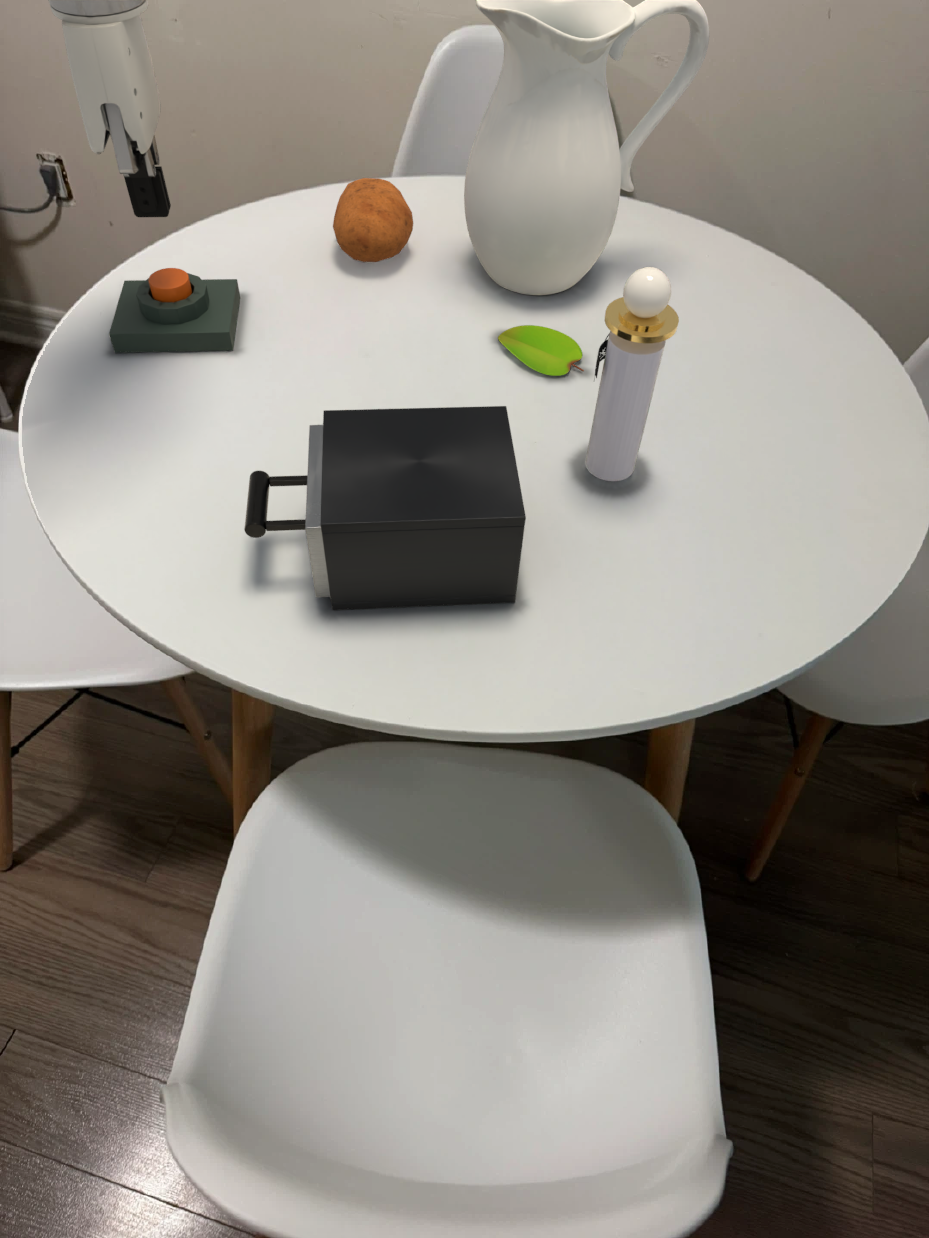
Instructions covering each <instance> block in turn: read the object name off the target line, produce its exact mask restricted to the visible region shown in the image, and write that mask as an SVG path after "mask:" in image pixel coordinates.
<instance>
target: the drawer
mask: <svg viewBox="0 0 929 1238" xmlns="http://www.w3.org/2000/svg"><path fill="white" fill-rule="evenodd" d="M322 450H323V424H310V425H309V429H308V451H307V474H306V475H278V476H277V475H276V476H275V475H274V476H270V475H269V474H268V472H266V471H264V470H254V471H252V472H251V473H250V475H249V481H248V491H247V500H246V501H247V502H246V509H245V520H244V528H243V529H244V533H245V534H246V535H247V536H248V537H250V538H254V539H260V538H262V537H264V536H265V534H266V533H267V532H283V531H285V532H286V531H305V535H306V543H307V548H308V556H309V563H310V569H311V573H312V575H311V576H312V580H313V587H314V594H315V598H330V591H329V584H328V576H327V569H326V561H325V554H324V546H323V539H322V532H321V487H322ZM298 486H299V487H302V486H303V487H304V486H306V499H305V519H281V520H280V519H279V520H278V519H277V520H268V510H269V499H270V498H269V497H270V487H298Z"/></svg>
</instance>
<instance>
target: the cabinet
mask: <svg viewBox="0 0 929 1238" xmlns="http://www.w3.org/2000/svg"><path fill="white" fill-rule="evenodd" d="M322 417H323V419H322V425H323V450H322V487H321V532H322V539H323V546H324V554H325V561H326V569H327V576H328V584H329V591H330V597H329V598H330V605H331V611H346V610H370V609H371V610H373V609H394V608H395V609H396V608H397V609H398V608H419V607H420V608H421V607H439V606H440V607H441V606H464V605H466V606H467V605H490V604H512V603H513V604H514V603H516V598H517V590H518V581H519V573H520V566H521V559H522V549H523V541H524V535H525V533H524V532H525V525H526V519H527V516H526V510H525V504H524V499H523V493H522V488H521V483H520V478H519V477H520V476H519V471H518V466H517V465H518V464H517V459H516V454H515V448H514V442H513V436H512V431H511V425H510V419H509V415H508V409H507V406H506V405H494V406H493V405H491V406H451V407H449V406H448V407H446V406H445V407H417V408H416V407H411V408H409V407H407V408H370V409H365V408H364V409H329V410H323V414H322Z"/></svg>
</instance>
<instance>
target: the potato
mask: <svg viewBox="0 0 929 1238" xmlns="http://www.w3.org/2000/svg"><path fill="white" fill-rule="evenodd" d="M332 229H333V232H334V236H335V240H336V243H337V245H338V246H339V248H340V250H341V251H342V252H344V254H346V255H347V256H348V257H349V258H351V259H352V260H354V261H357V262H358V261H359V262H361V263H378V262H381V261H384V260H385V261H386V260H389V259H391V258H394V257H395V256H396V255H399V254H400V253H401V252H402V250H403V249H404V248H405V247H406V246H407V244H408V242H409V240H410V237H411V235H412V233H413V229H414V218H413V212H412V210H411V208H410V206H409V204H408V203H407V201H406V199H405V197H404V196H403V194H402V192H401V190H400V189H398V188H397V187H396V186H395V184H393V183H392V182H390V181H389V180H386V179H383V178H376V177H375V178H373V177H371V178H370V177H362V178H359V179H356V180H353V181H351V182H349V183H347V185H346V186H345V188H344V189H343V191H342V192H341V194H340V195H339V198H338V202H337V204H336V209H335V212H334V216H333V222H332Z"/></svg>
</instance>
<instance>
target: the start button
mask: <svg viewBox="0 0 929 1238" xmlns="http://www.w3.org/2000/svg"><path fill="white" fill-rule="evenodd" d="M187 273H188V272H187V271H185V270H184V269H181V268H178V267H165V268H160V269H158V270H156V271H154V272H152V273H151V274H150V275H149V277H148V278H149V285H150V289H151V292H152V296H153V298H154V299H155V300H157V301H160V302H177V301H180V300H183V299H186V298H187V297H189V296H190V295H191V294H192V289H191V284H190V280H189V276H188V274H187Z"/></svg>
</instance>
